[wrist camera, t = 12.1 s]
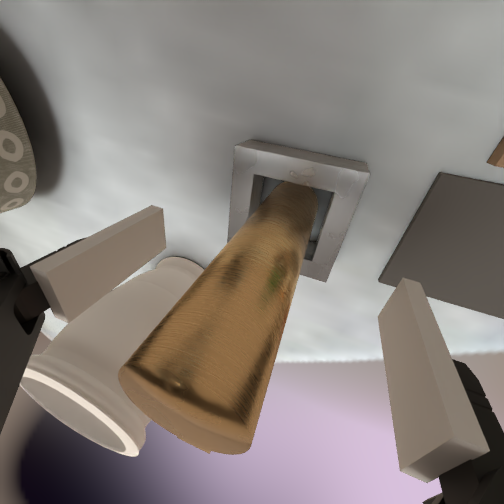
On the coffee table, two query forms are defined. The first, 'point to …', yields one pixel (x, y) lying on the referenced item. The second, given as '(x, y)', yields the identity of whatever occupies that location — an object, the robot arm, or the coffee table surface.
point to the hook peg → (226, 331)
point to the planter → (14, 156)
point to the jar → (106, 357)
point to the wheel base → (498, 155)
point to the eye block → (304, 173)
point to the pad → (455, 245)
